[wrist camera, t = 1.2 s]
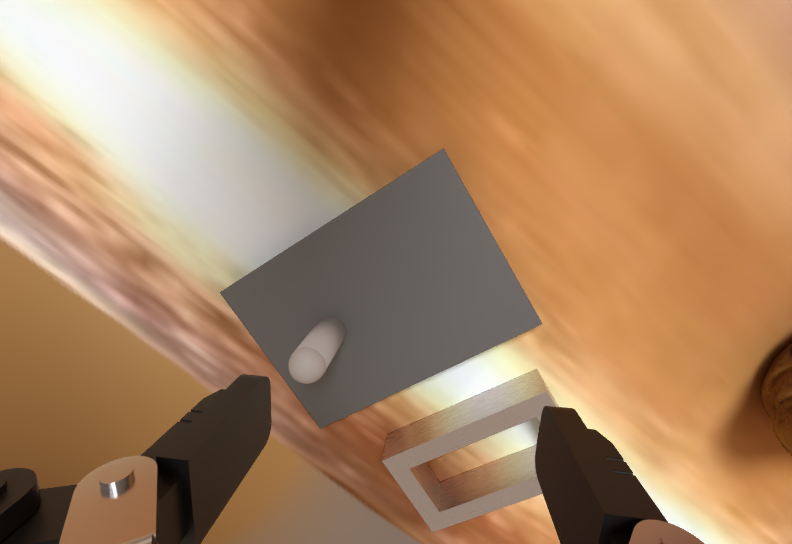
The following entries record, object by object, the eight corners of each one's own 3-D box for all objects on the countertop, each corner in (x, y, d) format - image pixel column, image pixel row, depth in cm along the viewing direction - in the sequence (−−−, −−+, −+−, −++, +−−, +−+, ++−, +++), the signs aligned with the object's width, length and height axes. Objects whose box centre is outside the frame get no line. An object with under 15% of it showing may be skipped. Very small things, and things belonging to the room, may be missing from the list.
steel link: (536, 368, 29) (547, 391, 26) (581, 445, 30) (596, 475, 27) (387, 434, 32) (381, 460, 29) (433, 500, 34) (432, 532, 31)
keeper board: (443, 149, 25) (443, 142, 18) (537, 315, 28) (571, 369, 20) (230, 286, 30) (161, 325, 23) (325, 417, 32) (290, 490, 25)
